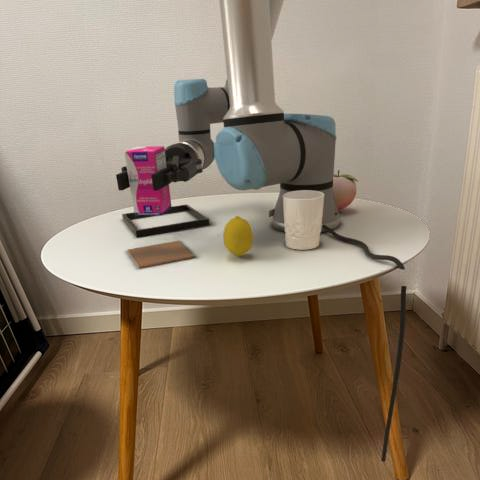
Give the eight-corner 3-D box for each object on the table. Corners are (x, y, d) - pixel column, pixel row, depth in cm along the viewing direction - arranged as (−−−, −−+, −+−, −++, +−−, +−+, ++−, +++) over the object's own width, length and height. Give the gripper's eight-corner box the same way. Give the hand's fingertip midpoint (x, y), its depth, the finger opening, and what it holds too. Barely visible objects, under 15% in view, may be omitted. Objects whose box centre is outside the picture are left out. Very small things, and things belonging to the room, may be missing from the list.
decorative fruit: (316, 216, 105) (317, 173, 100) (318, 207, 112) (320, 167, 107) (355, 216, 103) (359, 173, 98) (355, 208, 110) (359, 167, 105)
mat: (194, 257, 84) (194, 255, 84) (138, 268, 80) (138, 266, 80) (178, 242, 93) (178, 240, 92) (127, 251, 89) (127, 249, 89)
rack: (209, 225, 103) (209, 218, 102) (136, 237, 97) (135, 231, 97) (187, 209, 118) (186, 204, 117) (122, 219, 112) (121, 214, 111)
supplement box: (133, 216, 81) (122, 150, 75) (144, 207, 86) (135, 146, 80) (163, 216, 80) (154, 150, 74) (172, 207, 85) (165, 145, 79)
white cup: (321, 251, 83) (323, 199, 78) (280, 250, 85) (280, 199, 80) (322, 238, 90) (324, 189, 85) (285, 238, 91) (285, 190, 87)
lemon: (244, 264, 79) (242, 221, 75) (219, 259, 82) (216, 218, 78) (259, 254, 83) (257, 213, 79) (234, 251, 86) (232, 211, 82)
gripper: (224, 178, 94) (190, 204, 75) (145, 178, 99) (92, 203, 79) (222, 141, 91) (185, 159, 71) (139, 143, 95) (83, 160, 75)
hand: (136, 182), depth 75 cm, fingers closed on supplement box, 6 cm apart
